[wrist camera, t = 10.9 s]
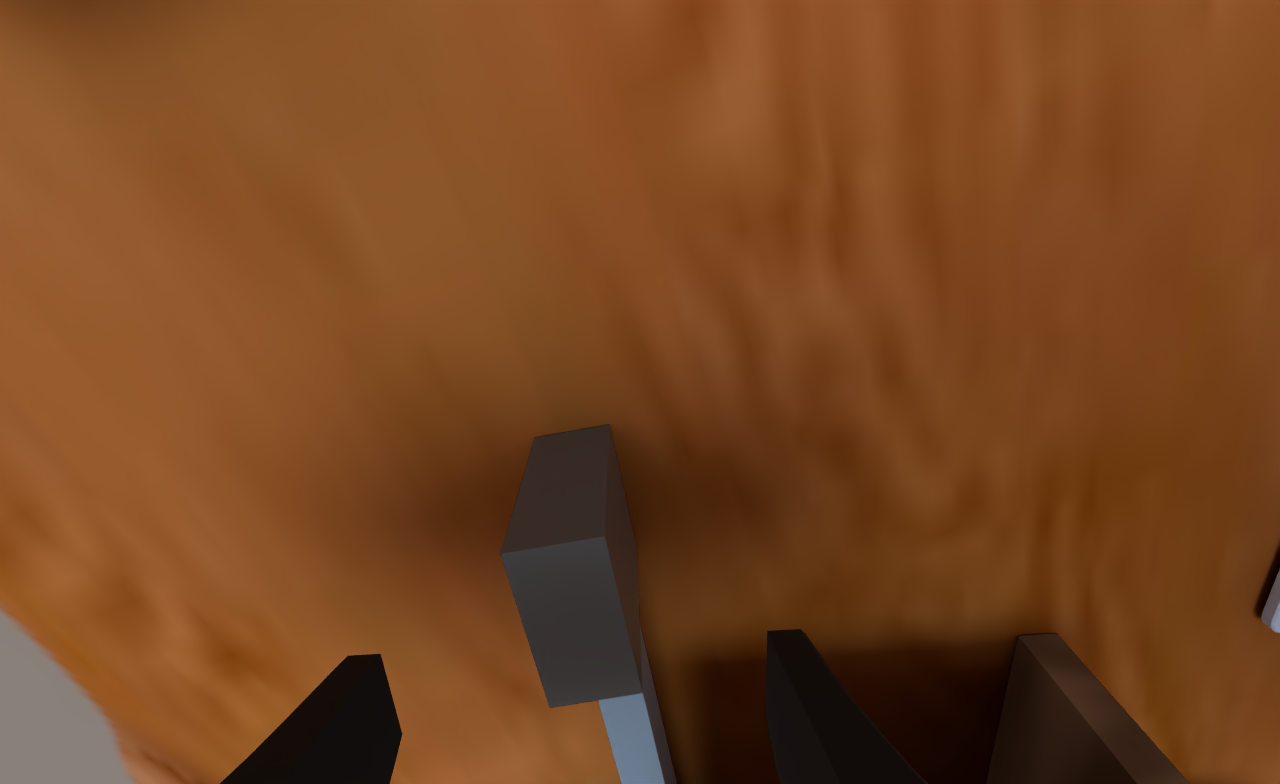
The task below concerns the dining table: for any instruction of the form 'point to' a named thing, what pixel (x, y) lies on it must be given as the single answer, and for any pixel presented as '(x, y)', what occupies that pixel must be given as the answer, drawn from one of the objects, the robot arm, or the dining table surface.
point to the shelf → (1068, 726)
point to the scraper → (586, 594)
